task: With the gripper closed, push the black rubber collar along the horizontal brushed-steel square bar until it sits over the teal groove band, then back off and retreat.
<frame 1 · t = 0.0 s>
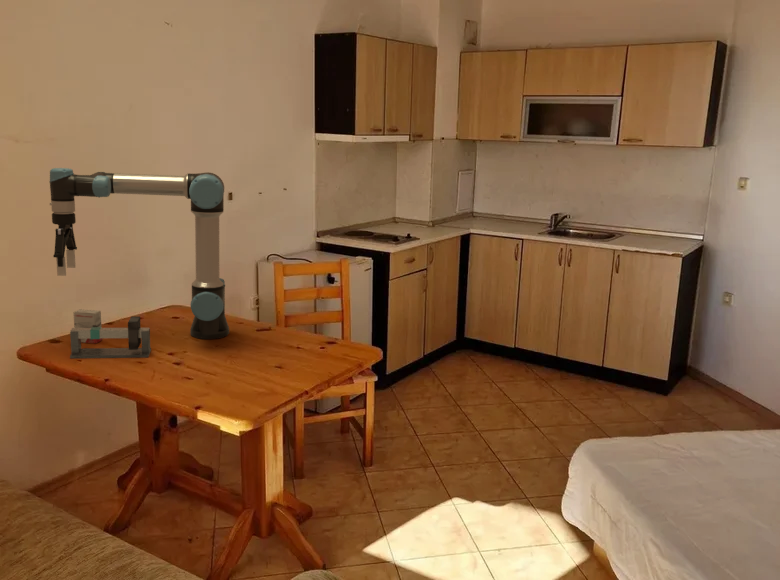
hand: (66, 271, 246), 28 cm above the table, fingers open, 13 cm apart
pipe rail: (111, 354, 245), on the table
ink box: (88, 341, 258), on the table
ring collar: (134, 332, 245), point 8 cm above the table, slide at 0.0 cm
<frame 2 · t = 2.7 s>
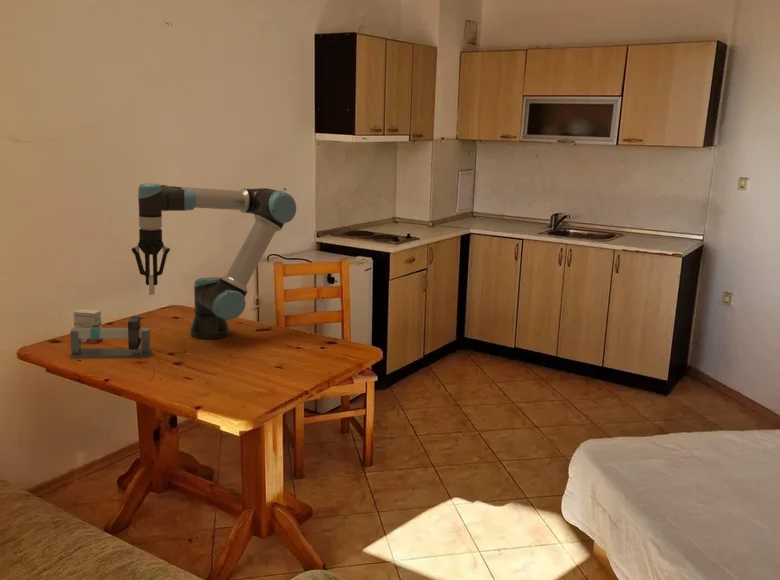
hand: (151, 293, 243), 23 cm above the table, fingers closed
nothing on the table moved.
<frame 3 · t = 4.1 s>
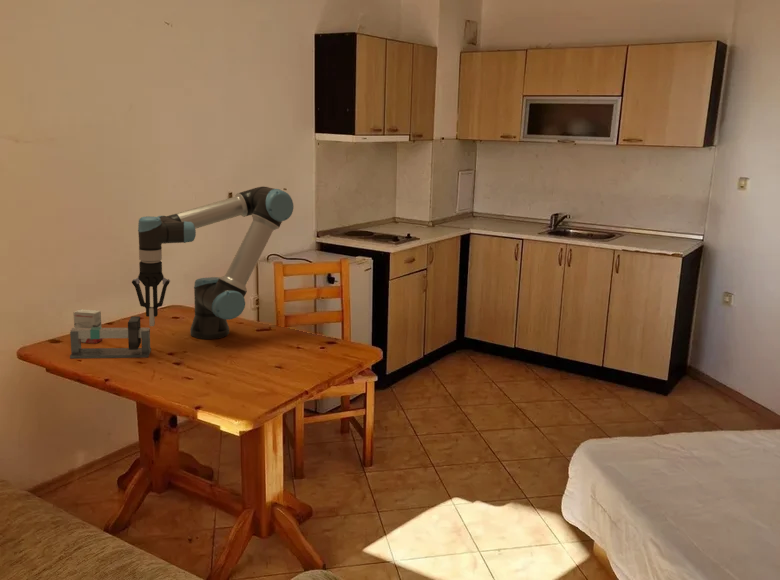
hand: (152, 325, 246), 11 cm above the table, fingers closed
nothing on the table moved.
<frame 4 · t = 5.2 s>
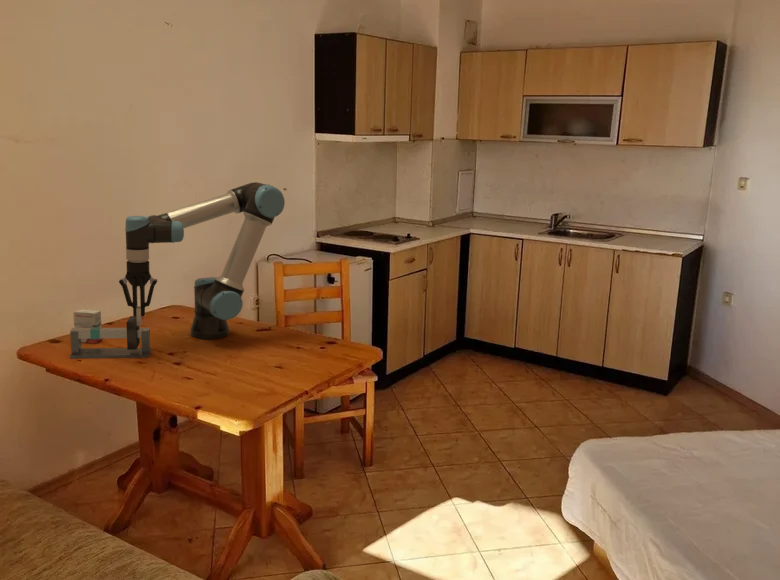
hand: (139, 324, 245), 11 cm above the table, fingers closed
ring collar: (133, 332, 245), point 8 cm above the table, slide at 0.5 cm, touching gripper
everything else where it was.
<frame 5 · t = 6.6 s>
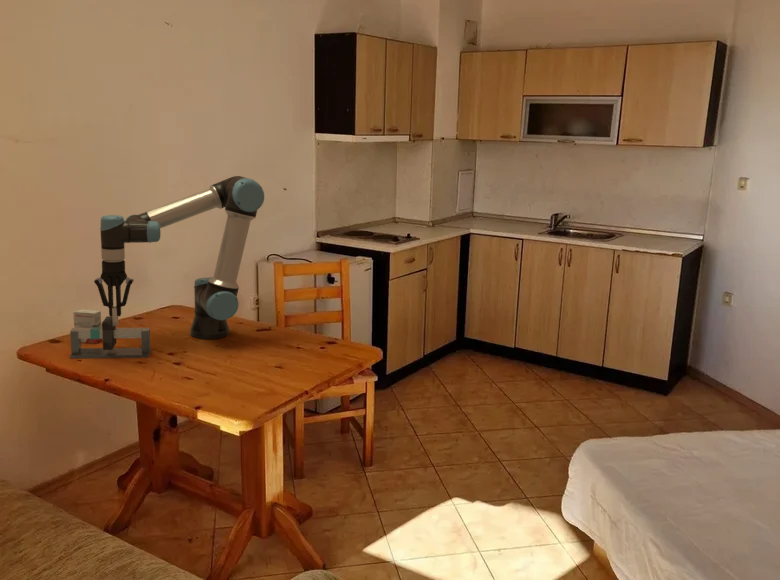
hand: (115, 324, 243), 11 cm above the table, fingers closed
ring collar: (109, 333, 244), point 8 cm above the table, slide at 8.5 cm, touching gripper
everything else where it was.
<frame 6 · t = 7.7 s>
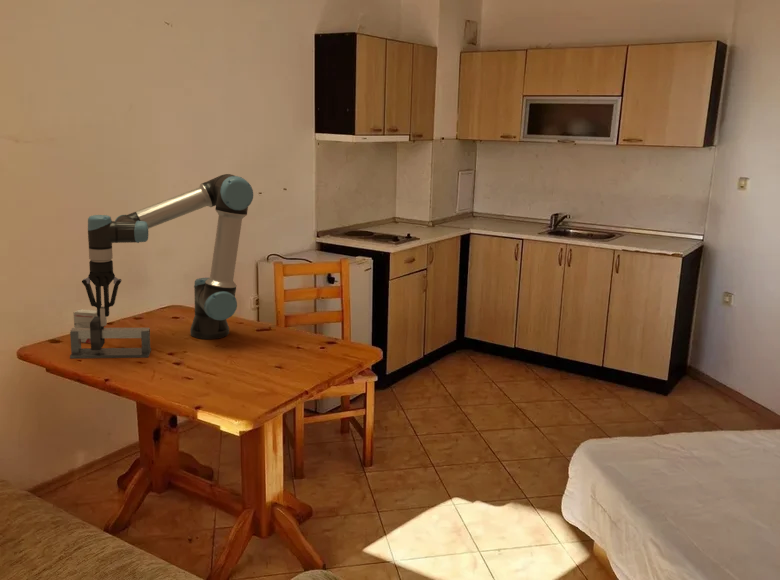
hand: (103, 325, 242), 11 cm above the table, fingers closed
ring collar: (97, 333, 243), point 8 cm above the table, slide at 12.5 cm, touching gripper
everything else where it was.
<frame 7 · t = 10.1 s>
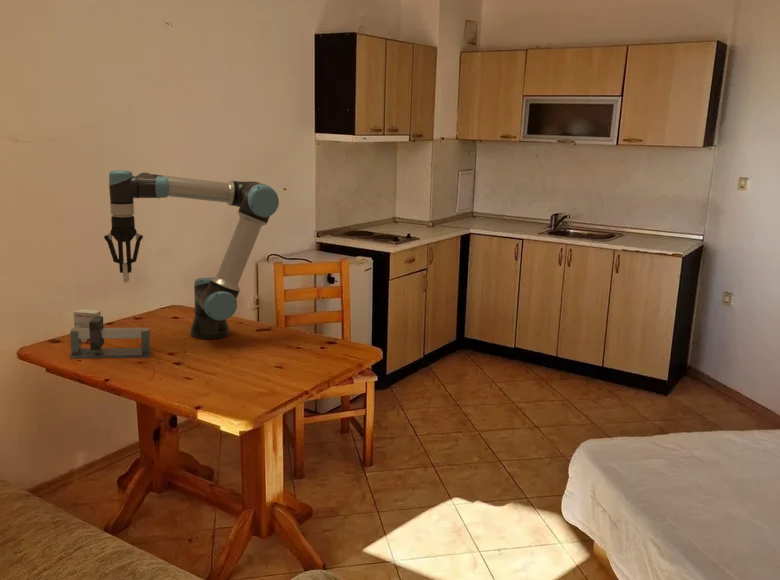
hand: (126, 281, 243), 26 cm above the table, fingers closed
ring collar: (96, 333, 243), point 8 cm above the table, slide at 12.7 cm
everything else where it was.
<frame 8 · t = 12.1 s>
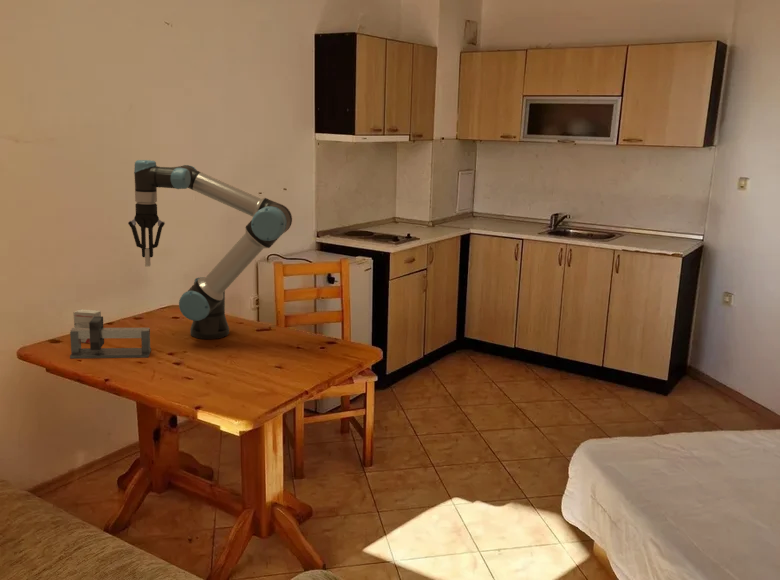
hand: (147, 265, 256), 29 cm above the table, fingers closed
nothing on the table moved.
at the end: ring collar slide at 12.7 cm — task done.
